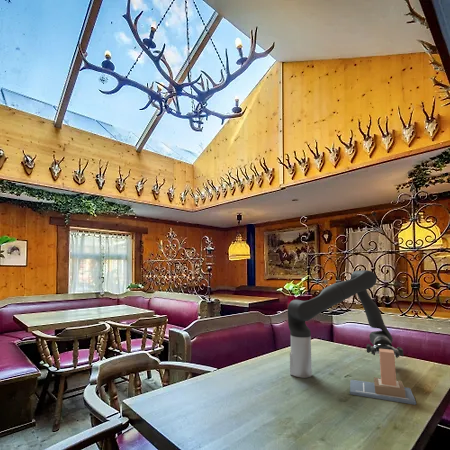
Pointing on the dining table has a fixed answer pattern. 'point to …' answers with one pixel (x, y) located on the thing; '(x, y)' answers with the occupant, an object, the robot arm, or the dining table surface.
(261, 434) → the dining table surface
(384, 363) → the terracotta pillar
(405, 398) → the blueprint board
